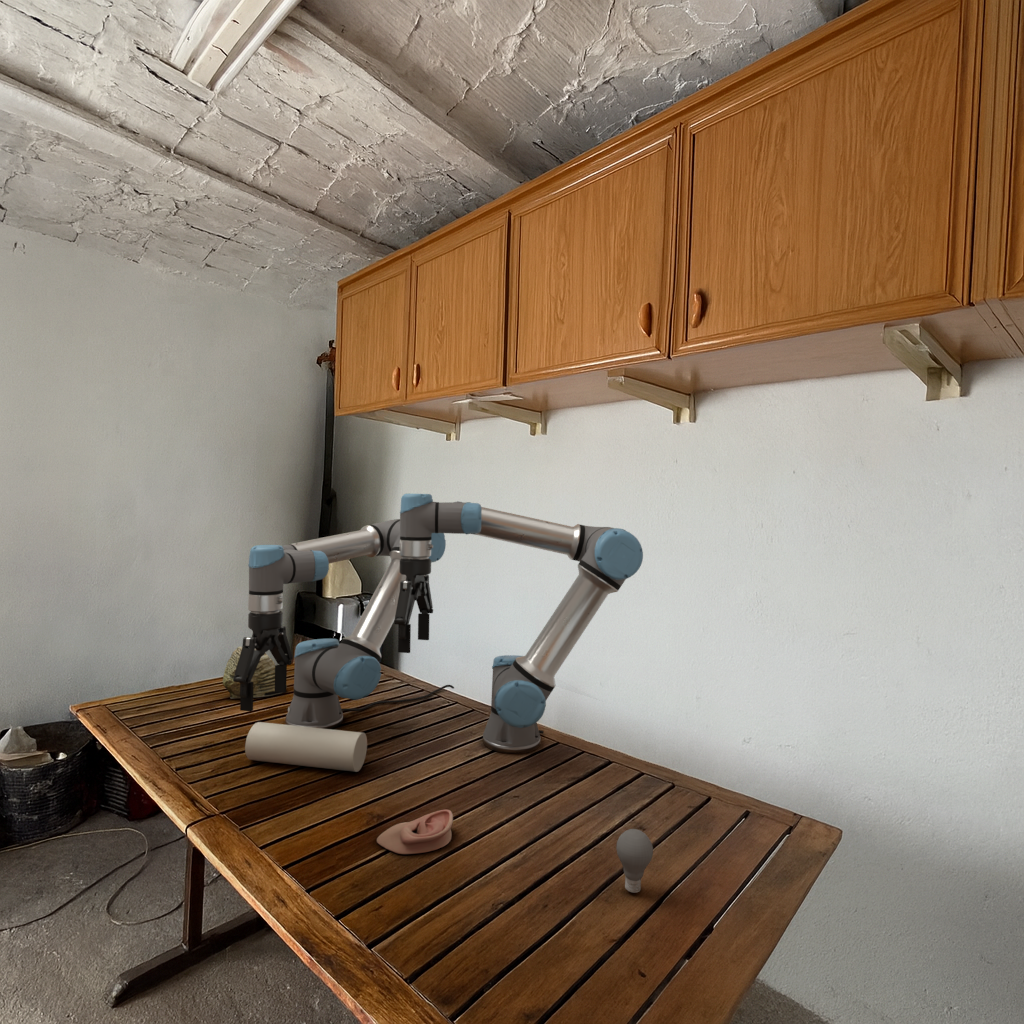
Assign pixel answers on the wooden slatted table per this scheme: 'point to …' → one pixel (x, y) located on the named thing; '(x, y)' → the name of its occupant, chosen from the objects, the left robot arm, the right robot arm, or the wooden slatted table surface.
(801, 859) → the wooden slatted table surface
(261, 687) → the fossil
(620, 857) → the light bulb
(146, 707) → the wooden slatted table surface
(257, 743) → the rod
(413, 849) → the anatomical model
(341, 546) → the left robot arm
